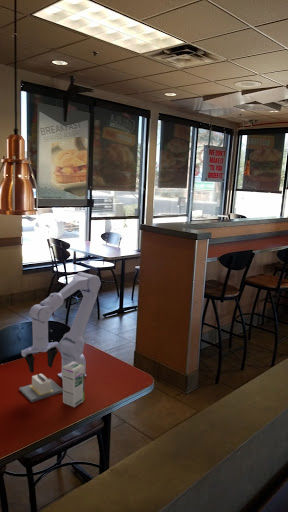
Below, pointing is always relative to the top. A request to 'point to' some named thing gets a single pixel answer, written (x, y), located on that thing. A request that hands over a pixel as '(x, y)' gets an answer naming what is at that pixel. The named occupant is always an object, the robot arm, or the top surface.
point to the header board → (35, 395)
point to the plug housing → (41, 383)
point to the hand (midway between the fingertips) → (40, 369)
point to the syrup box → (73, 383)
